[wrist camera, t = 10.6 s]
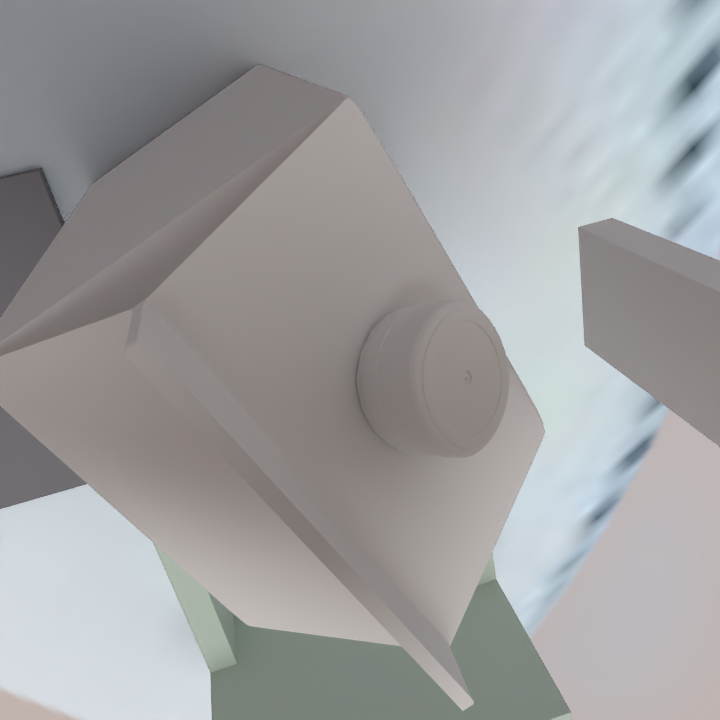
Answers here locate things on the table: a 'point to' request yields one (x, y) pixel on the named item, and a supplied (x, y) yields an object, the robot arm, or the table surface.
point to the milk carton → (279, 373)
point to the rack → (367, 666)
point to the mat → (3, 281)
